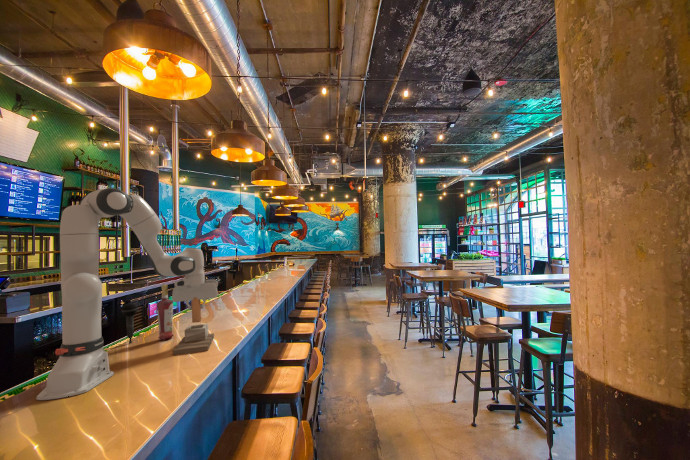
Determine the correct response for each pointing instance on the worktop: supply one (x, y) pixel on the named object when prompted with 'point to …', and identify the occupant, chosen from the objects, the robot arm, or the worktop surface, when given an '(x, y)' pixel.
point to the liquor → (165, 315)
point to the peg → (196, 310)
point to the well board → (194, 340)
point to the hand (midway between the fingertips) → (196, 309)
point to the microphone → (129, 318)
